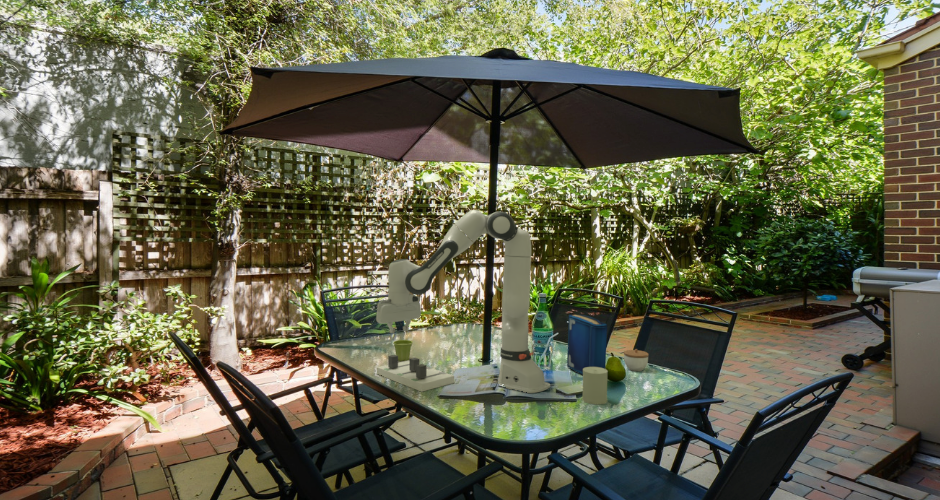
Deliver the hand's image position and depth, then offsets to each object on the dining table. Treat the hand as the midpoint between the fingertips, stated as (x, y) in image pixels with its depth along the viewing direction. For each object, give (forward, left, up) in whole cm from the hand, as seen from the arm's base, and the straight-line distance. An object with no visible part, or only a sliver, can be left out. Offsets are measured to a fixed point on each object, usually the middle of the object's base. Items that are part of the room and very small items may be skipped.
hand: (399, 331), depth 212 cm
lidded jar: (-56, -92, -21) cm, 110 cm away
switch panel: (0, -8, -21) cm, 23 cm away
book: (-45, -69, -21) cm, 85 cm away
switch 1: (+10, -4, -18) cm, 21 cm away
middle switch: (0, -8, -18) cm, 19 cm away
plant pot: (+28, -22, -21) cm, 41 cm away
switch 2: (-10, -4, -18) cm, 21 cm away
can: (-67, -42, -21) cm, 82 cm away
